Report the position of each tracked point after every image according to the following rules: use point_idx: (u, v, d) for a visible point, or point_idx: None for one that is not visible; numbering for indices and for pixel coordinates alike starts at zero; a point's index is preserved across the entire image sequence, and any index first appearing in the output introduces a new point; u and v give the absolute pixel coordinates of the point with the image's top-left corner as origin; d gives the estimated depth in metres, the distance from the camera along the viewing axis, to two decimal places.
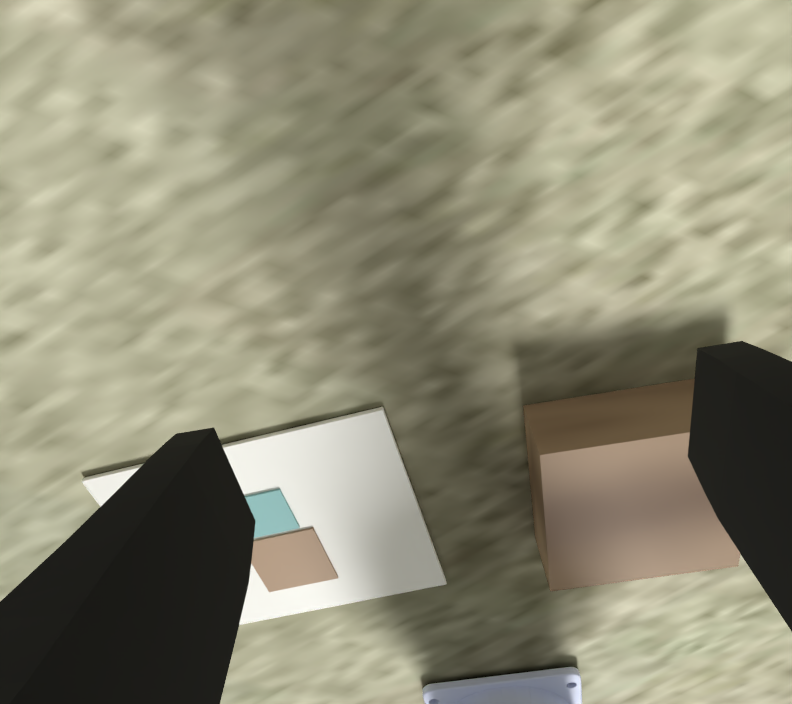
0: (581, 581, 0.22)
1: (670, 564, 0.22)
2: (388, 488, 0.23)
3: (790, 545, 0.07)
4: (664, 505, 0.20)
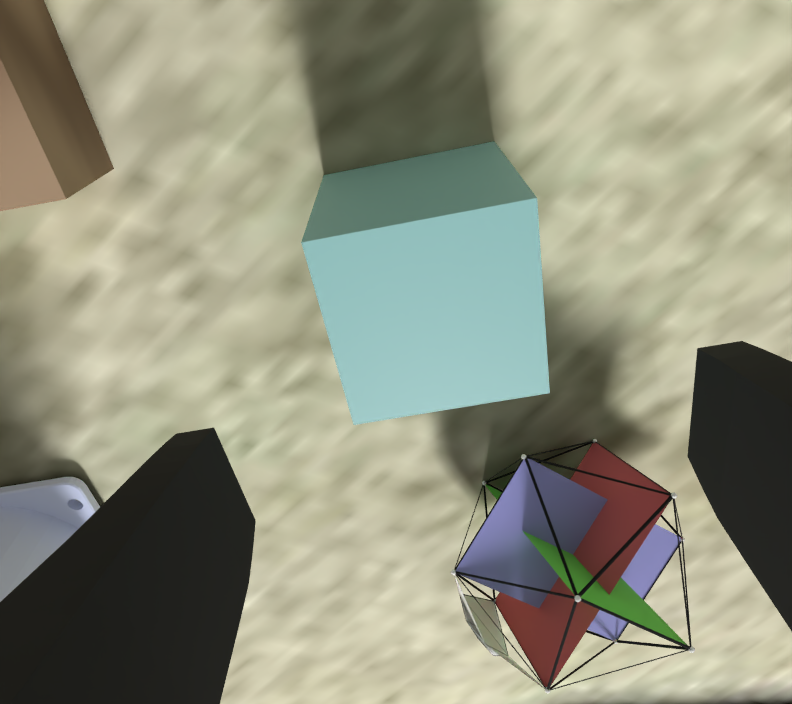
0: None
1: None
2: None
3: (790, 545, 0.07)
4: None
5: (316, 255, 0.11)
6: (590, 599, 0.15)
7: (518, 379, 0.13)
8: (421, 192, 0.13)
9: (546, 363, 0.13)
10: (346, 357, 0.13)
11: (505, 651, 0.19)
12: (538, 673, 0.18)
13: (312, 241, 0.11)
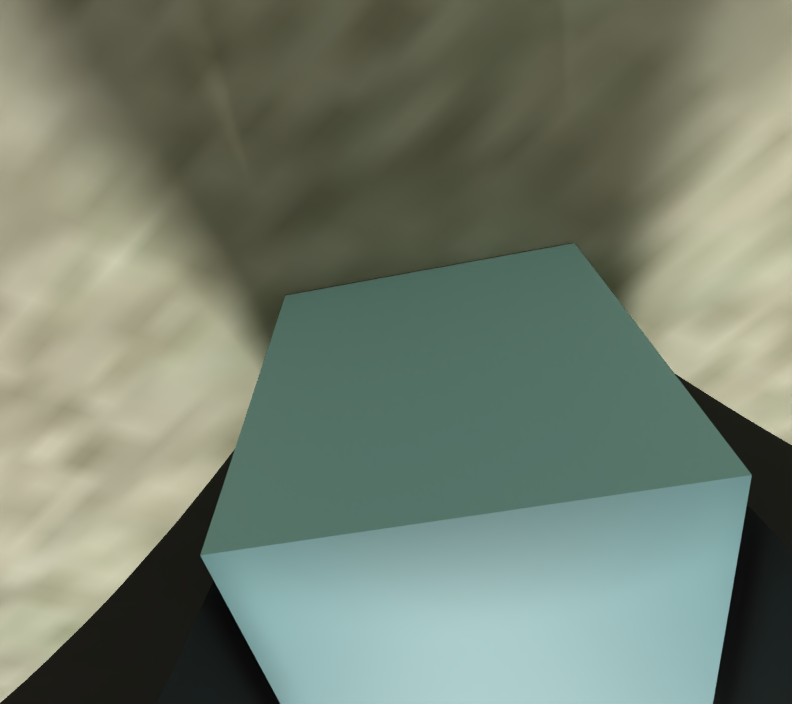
0: None
1: None
2: None
3: None
4: None
5: (236, 576, 0.05)
6: None
7: None
8: (462, 389, 0.06)
9: None
10: None
11: None
12: None
13: (225, 552, 0.05)
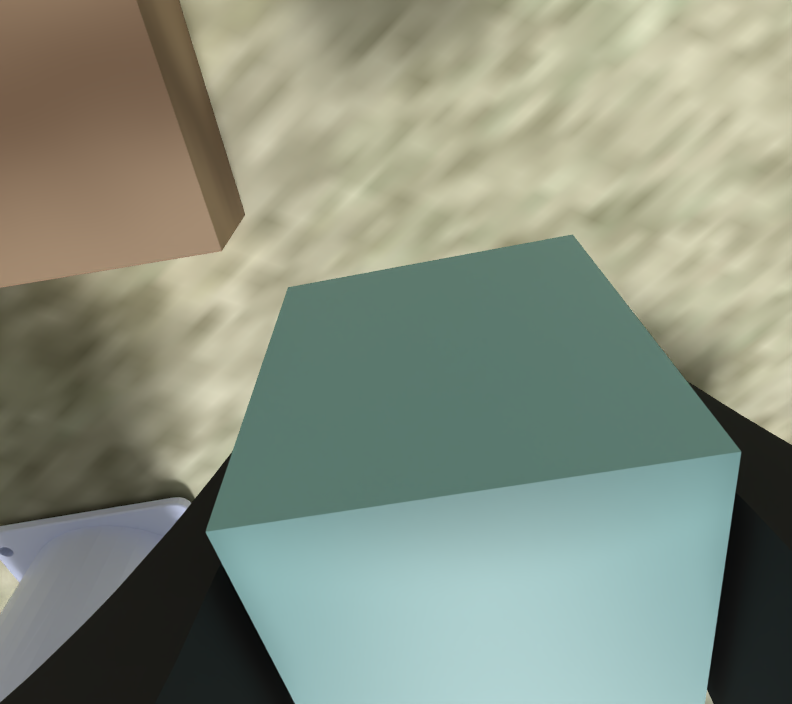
0: None
1: (108, 242, 0.14)
2: None
3: None
4: (27, 101, 0.12)
5: (240, 552, 0.05)
6: None
7: None
8: (460, 374, 0.06)
9: (702, 699, 0.07)
10: (314, 696, 0.06)
11: None
12: None
13: (230, 528, 0.05)
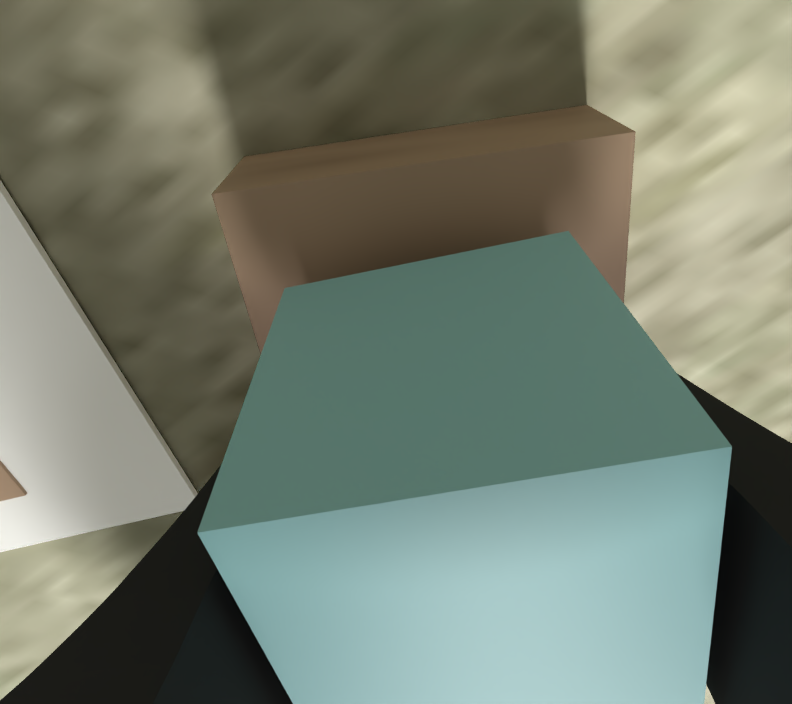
0: None
1: None
2: (49, 330, 0.14)
3: None
4: None
5: (233, 553, 0.05)
6: None
7: None
8: (453, 372, 0.06)
9: (701, 696, 0.07)
10: (311, 696, 0.06)
11: None
12: None
13: (221, 529, 0.05)
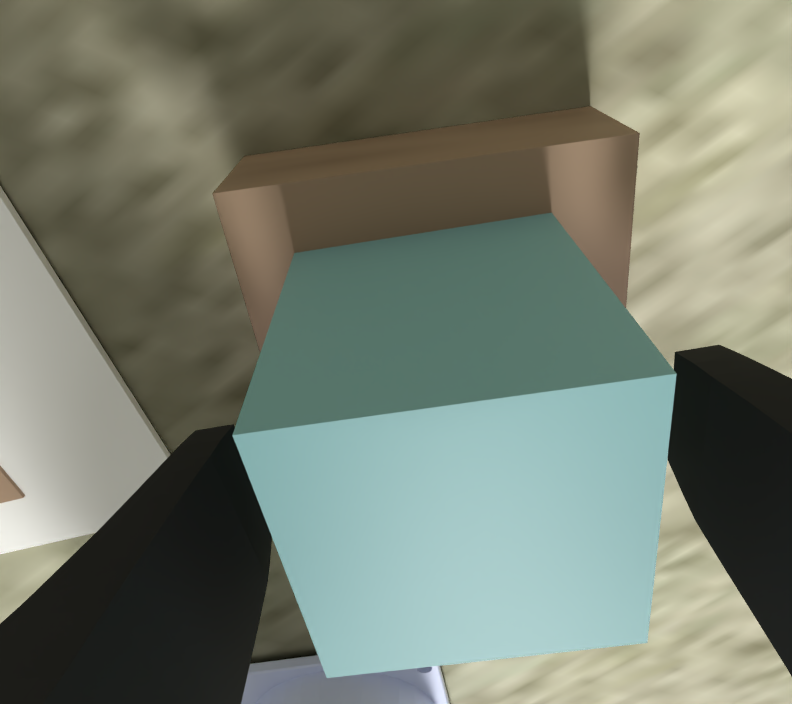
0: None
1: None
2: (47, 332, 0.14)
3: (763, 549, 0.07)
4: None
5: (261, 455, 0.06)
6: None
7: (599, 625, 0.08)
8: (449, 320, 0.07)
9: (648, 606, 0.08)
10: (315, 596, 0.07)
11: None
12: None
13: (253, 433, 0.06)
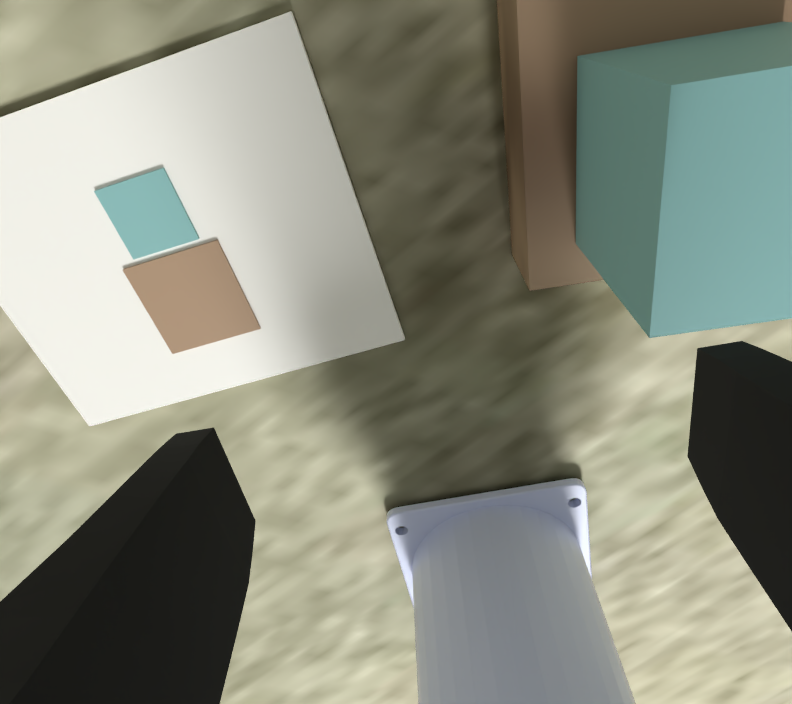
0: (572, 273, 0.16)
1: None
2: (312, 165, 0.17)
3: (790, 545, 0.07)
4: None
5: (683, 104, 0.09)
6: None
7: None
8: (769, 49, 0.10)
9: None
10: (672, 247, 0.10)
11: None
12: None
13: (684, 85, 0.09)
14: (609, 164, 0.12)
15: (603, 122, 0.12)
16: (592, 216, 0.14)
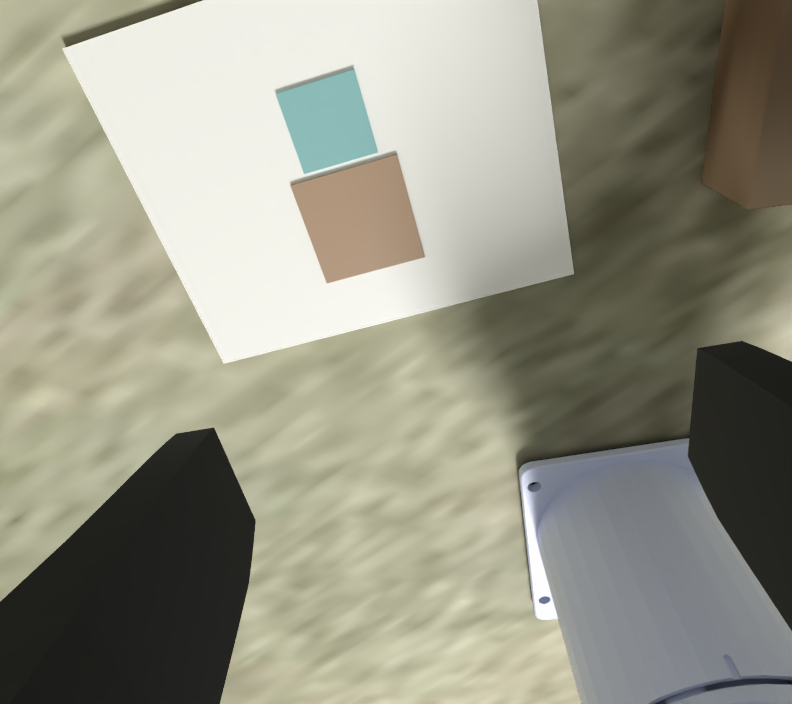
0: None
1: None
2: (512, 71, 0.16)
3: (790, 545, 0.07)
4: None
5: None
6: None
7: None
8: None
9: None
10: None
11: None
12: None
13: None
14: None
15: None
16: None
